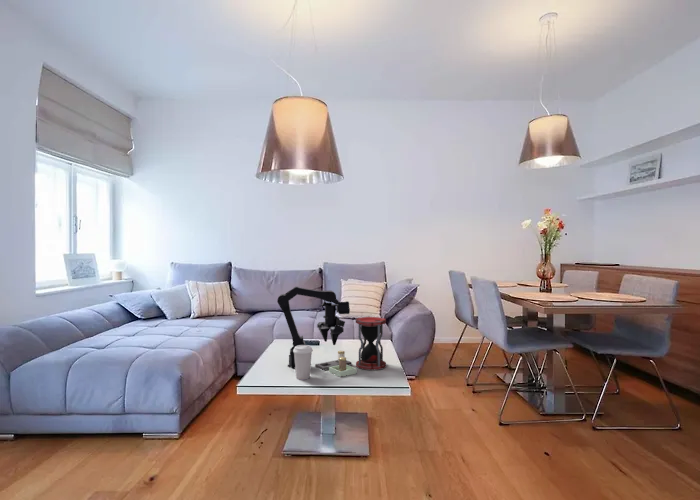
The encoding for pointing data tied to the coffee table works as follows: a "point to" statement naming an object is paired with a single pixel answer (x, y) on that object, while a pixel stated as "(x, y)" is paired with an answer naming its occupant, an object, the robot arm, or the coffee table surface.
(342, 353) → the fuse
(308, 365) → the coffee cup
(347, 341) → the coffee table surface
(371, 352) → the hourglass
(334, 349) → the coffee table surface
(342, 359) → the fuse
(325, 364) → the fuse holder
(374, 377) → the coffee table surface
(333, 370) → the parts tray
